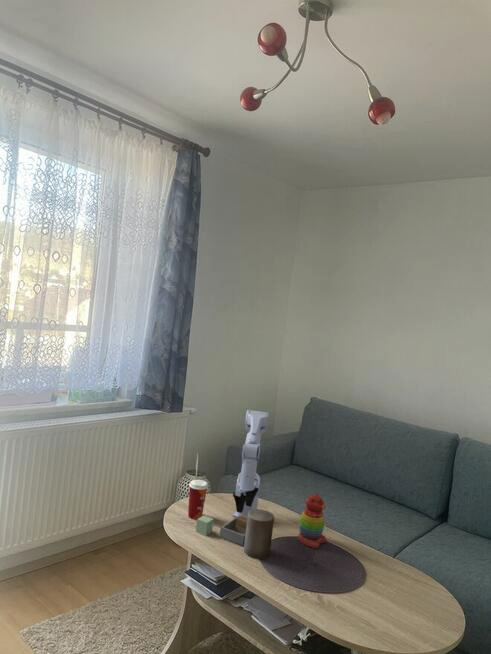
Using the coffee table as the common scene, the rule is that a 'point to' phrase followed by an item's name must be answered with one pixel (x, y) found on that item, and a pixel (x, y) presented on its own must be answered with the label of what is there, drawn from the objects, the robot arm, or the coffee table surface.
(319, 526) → the stacking bear
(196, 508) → the paper cup
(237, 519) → the walnut block
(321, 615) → the coffee table surface
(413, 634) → the coffee table surface
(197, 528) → the sage block
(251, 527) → the pillar candle
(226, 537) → the tray
